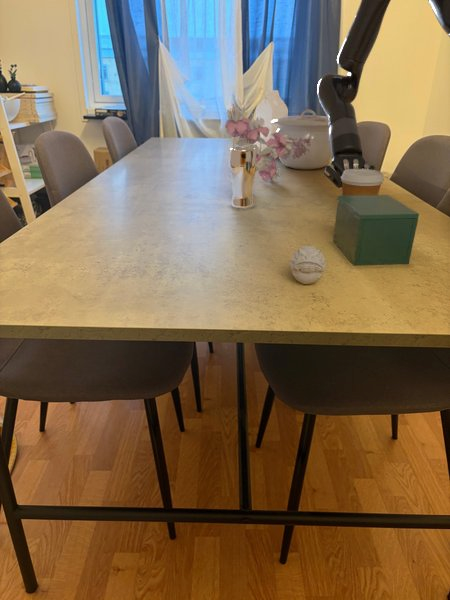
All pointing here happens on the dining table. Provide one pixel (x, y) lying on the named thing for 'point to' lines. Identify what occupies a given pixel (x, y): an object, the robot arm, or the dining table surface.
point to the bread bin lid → (377, 207)
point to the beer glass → (242, 175)
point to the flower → (251, 133)
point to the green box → (374, 238)
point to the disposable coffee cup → (361, 182)
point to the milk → (270, 114)
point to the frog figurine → (307, 265)
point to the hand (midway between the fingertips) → (353, 201)
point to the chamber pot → (305, 140)
